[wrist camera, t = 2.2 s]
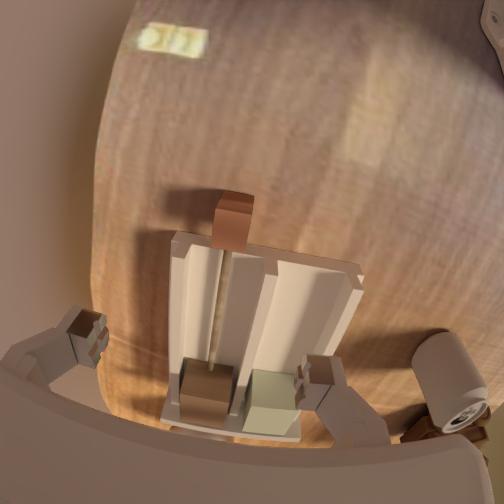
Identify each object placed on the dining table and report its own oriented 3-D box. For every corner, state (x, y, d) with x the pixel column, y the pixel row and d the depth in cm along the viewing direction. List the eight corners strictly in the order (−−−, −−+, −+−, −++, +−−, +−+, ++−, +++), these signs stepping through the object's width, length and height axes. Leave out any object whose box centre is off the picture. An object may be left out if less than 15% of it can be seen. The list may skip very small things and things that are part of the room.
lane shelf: (177, 230, 26) (151, 271, 20) (359, 264, 27) (381, 310, 21) (172, 380, 36) (160, 422, 30) (296, 399, 37) (298, 442, 31)
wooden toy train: (387, 433, 43) (403, 507, 29) (421, 399, 38) (448, 483, 23) (455, 424, 45) (475, 483, 30) (488, 393, 39) (515, 455, 25)
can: (399, 366, 34) (425, 441, 23) (427, 325, 30) (467, 402, 20) (437, 367, 34) (465, 432, 24) (465, 329, 31) (504, 395, 20)
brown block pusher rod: (209, 187, 24) (189, 218, 18) (269, 198, 24) (270, 232, 18) (190, 377, 35) (179, 420, 29) (228, 384, 35) (222, 428, 29)
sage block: (253, 369, 31) (251, 406, 27) (296, 374, 31) (299, 410, 27) (244, 397, 34) (241, 431, 30) (283, 402, 34) (284, 435, 30)
